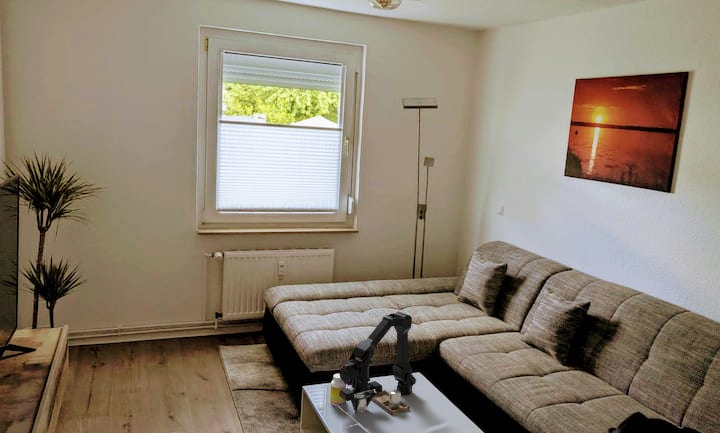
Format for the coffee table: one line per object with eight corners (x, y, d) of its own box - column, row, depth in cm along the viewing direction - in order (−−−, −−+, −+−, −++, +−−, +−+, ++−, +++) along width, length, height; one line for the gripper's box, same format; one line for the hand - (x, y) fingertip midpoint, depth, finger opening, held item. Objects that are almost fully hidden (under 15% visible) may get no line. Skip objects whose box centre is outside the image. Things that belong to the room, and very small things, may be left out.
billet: (361, 408, 244) (362, 393, 243) (368, 414, 240) (369, 398, 239) (352, 411, 242) (352, 396, 241) (358, 416, 238) (359, 401, 237)
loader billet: (395, 403, 248) (396, 388, 246) (402, 408, 243) (403, 393, 242) (386, 406, 245) (386, 391, 244) (393, 411, 241) (393, 396, 240)
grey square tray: (361, 391, 261) (361, 385, 260) (369, 397, 255) (370, 391, 255) (348, 394, 257) (348, 388, 257) (356, 401, 251) (357, 394, 251)
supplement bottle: (343, 407, 245) (344, 379, 243) (328, 405, 246) (329, 378, 244) (346, 400, 251) (347, 373, 249) (332, 398, 253) (333, 371, 251)
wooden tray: (384, 395, 258) (384, 389, 258) (409, 412, 243) (409, 406, 243) (367, 399, 253) (367, 394, 252) (391, 417, 238) (392, 411, 237)
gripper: (369, 363, 250) (367, 396, 253) (333, 372, 240) (331, 406, 242) (384, 373, 241) (382, 407, 243) (347, 382, 231) (345, 418, 233)
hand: (360, 409), depth 241 cm, fingers closed on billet, 5 cm apart
